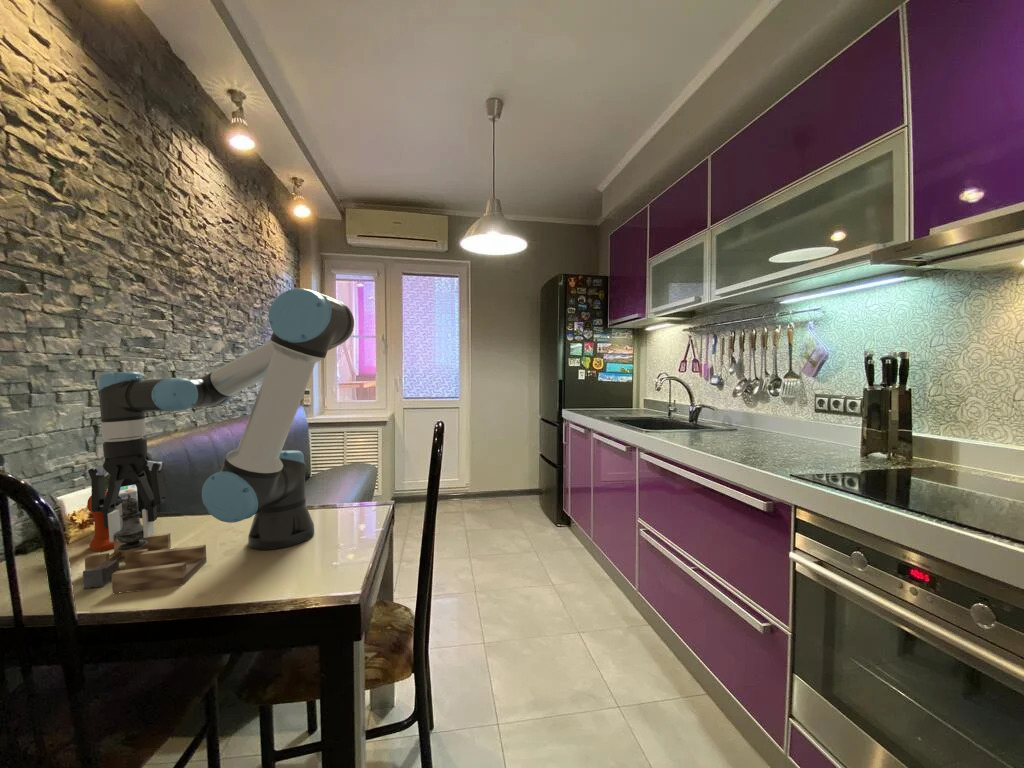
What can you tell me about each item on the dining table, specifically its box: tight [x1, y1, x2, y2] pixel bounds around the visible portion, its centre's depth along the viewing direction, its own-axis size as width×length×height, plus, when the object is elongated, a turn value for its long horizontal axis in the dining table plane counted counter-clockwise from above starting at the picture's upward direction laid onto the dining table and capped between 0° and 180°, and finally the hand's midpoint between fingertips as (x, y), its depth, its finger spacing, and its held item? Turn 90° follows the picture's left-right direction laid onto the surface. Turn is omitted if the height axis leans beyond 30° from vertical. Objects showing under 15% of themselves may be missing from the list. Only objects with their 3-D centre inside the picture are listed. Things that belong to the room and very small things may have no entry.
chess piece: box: [115, 495, 148, 550], centre depth 98 cm, size 6×6×12 cm
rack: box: [111, 544, 208, 594], centre depth 91 cm, size 12×11×4 cm
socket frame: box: [84, 532, 172, 570], centre depth 99 cm, size 11×11×4 cm
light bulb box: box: [106, 484, 139, 530], centre depth 123 cm, size 11×7×11 cm, turn 43°
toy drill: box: [86, 491, 126, 552], centre depth 106 cm, size 5×19×15 cm, turn 62°
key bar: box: [82, 559, 120, 589], centre depth 89 cm, size 3×6×4 cm, turn 15°
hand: (132, 537), depth 99 cm, fingers closed on chess piece, 6 cm apart
